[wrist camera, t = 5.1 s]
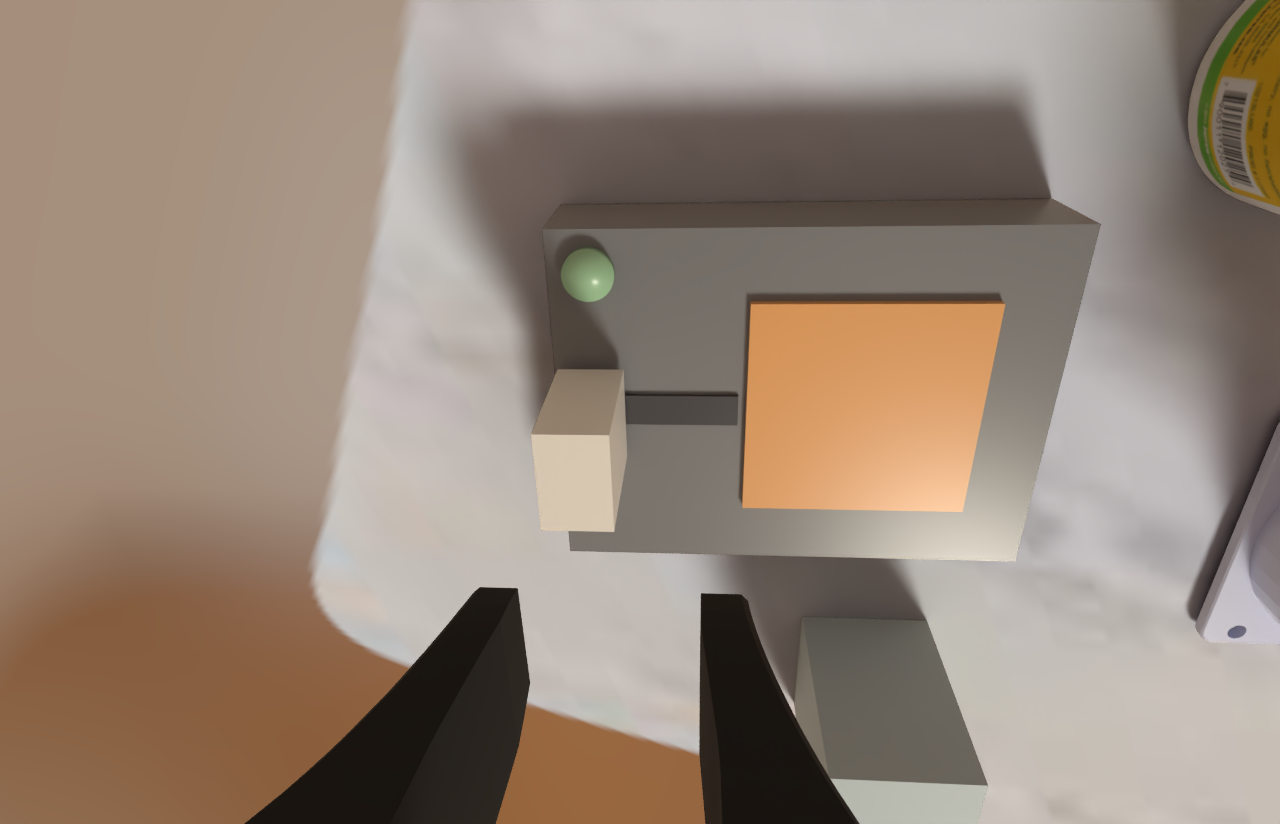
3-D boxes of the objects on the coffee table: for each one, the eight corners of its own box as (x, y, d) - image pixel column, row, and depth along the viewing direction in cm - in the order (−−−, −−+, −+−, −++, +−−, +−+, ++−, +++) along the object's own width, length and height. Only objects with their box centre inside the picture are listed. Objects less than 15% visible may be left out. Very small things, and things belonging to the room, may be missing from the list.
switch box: (1052, 198, 18) (1107, 227, 16) (984, 507, 22) (1019, 568, 20) (560, 204, 19) (539, 233, 17) (582, 500, 23) (568, 557, 21)
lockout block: (926, 619, 25) (988, 785, 19) (909, 706, 27) (961, 879, 21) (801, 616, 25) (829, 778, 20) (793, 702, 27) (816, 871, 22)
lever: (623, 369, 18) (609, 435, 15) (626, 456, 19) (614, 532, 16) (557, 369, 18) (530, 434, 15) (564, 455, 19) (541, 530, 17)
